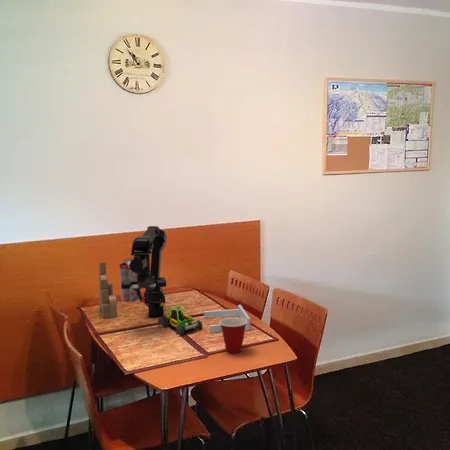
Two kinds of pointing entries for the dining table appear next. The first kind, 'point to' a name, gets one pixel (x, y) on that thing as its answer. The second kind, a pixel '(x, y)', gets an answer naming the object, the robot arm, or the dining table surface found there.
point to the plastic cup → (233, 333)
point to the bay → (227, 313)
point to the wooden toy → (106, 295)
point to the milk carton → (126, 273)
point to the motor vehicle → (179, 320)
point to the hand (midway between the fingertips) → (144, 302)
